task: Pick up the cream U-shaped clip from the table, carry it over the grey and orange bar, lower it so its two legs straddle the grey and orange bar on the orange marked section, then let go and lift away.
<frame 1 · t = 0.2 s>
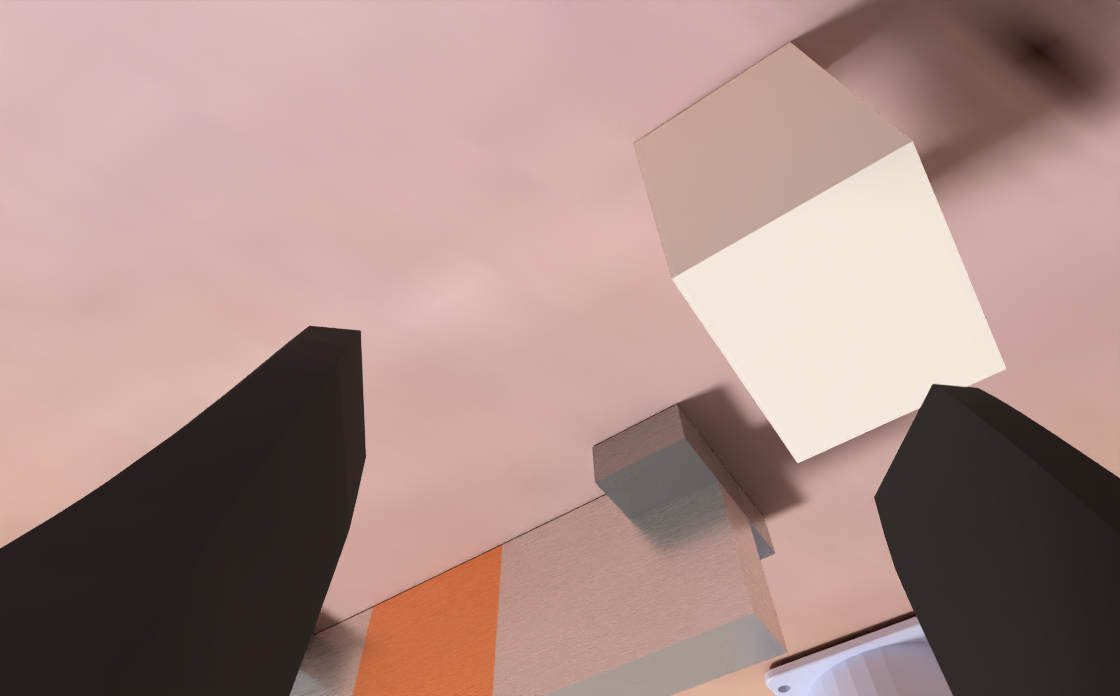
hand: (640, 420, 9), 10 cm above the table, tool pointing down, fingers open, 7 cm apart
clip: (756, 181, 18), on the table
grey and orange bar: (474, 581, 26), on the table
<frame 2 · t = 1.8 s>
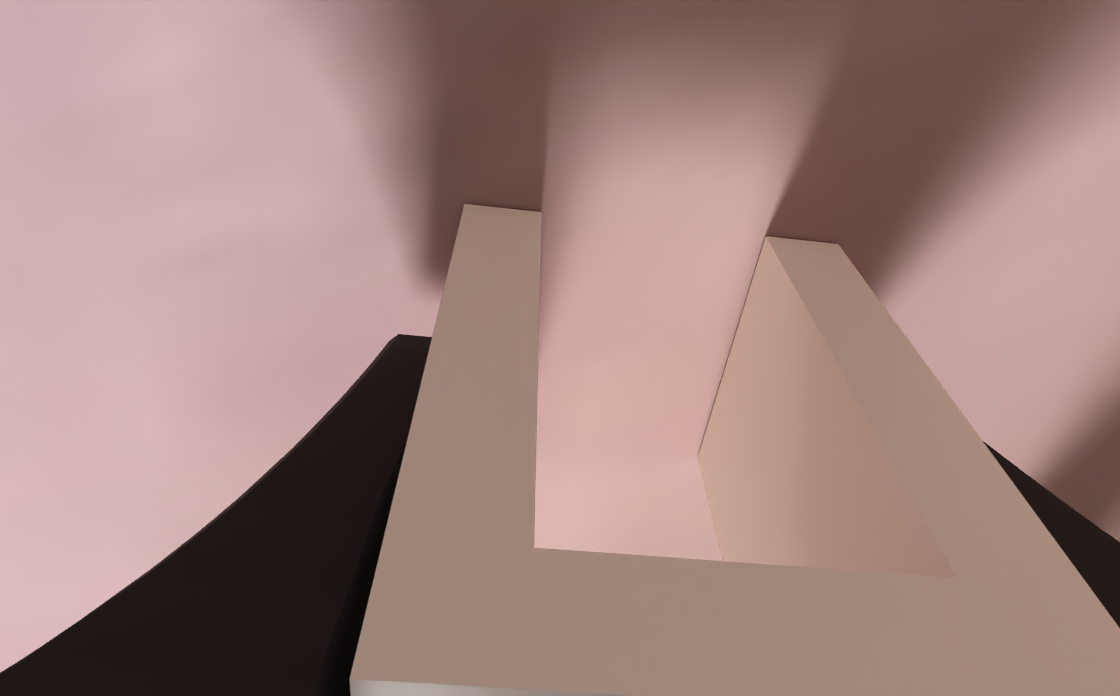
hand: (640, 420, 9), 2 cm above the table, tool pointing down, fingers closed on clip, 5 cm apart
clip: (628, 348, 11), on the table, touching gripper
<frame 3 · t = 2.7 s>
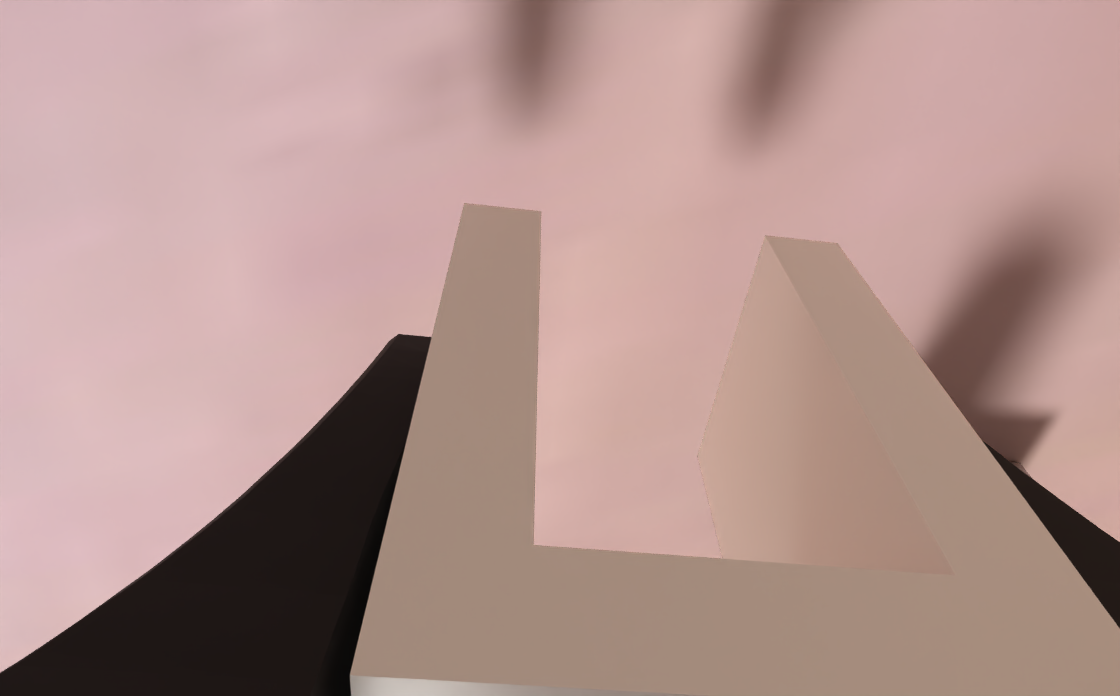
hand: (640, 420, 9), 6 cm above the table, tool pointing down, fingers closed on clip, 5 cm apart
clip: (628, 348, 11), point 4 cm above the table, touching gripper
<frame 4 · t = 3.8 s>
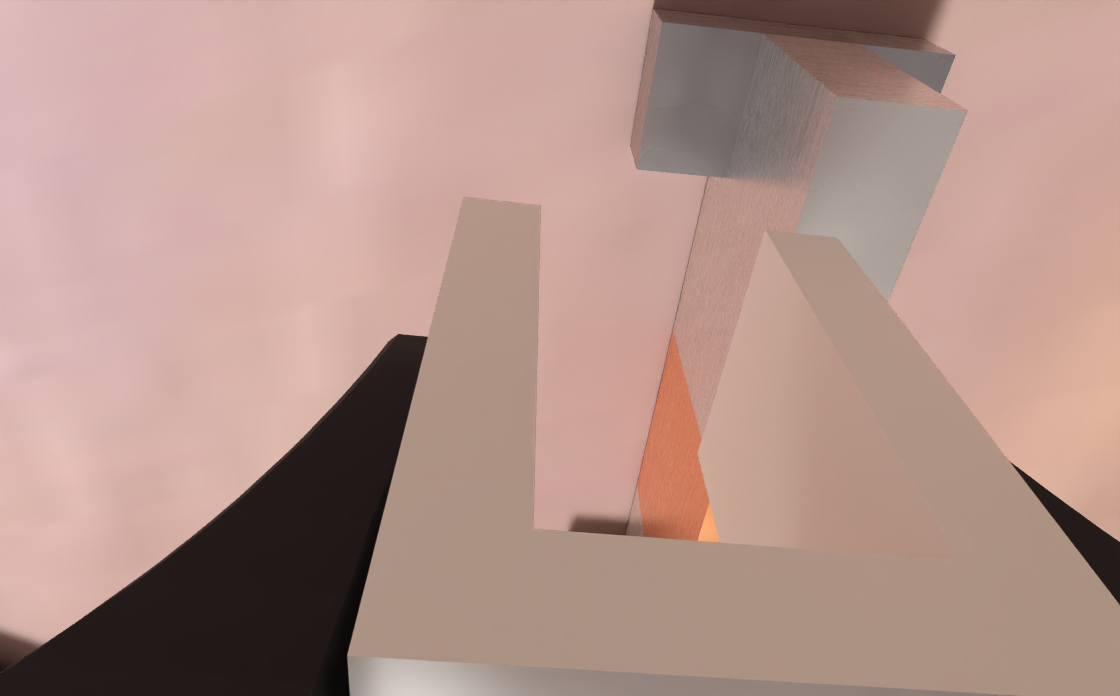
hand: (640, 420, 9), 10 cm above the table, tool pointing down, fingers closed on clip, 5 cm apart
clip: (628, 343, 11), point 8 cm above the table, touching gripper
grey and orange bar: (693, 390, 21), on the table
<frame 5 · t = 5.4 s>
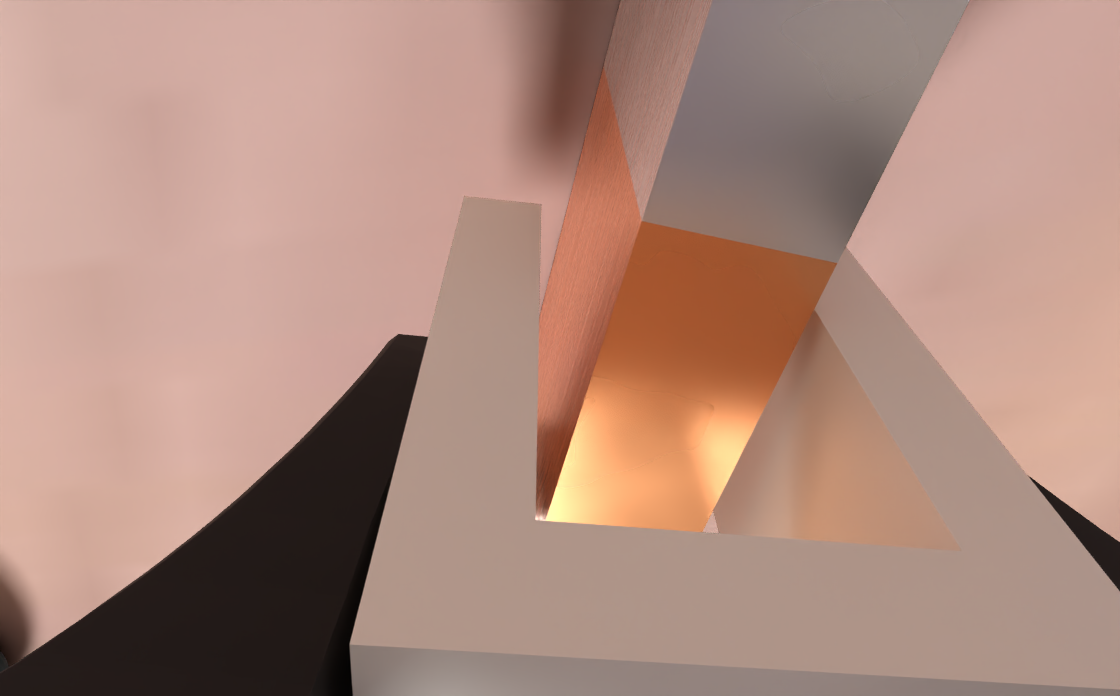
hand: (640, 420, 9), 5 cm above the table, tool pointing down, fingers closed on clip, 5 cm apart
clip: (628, 343, 11), point 3 cm above the table, touching gripper
grey and orange bar: (628, 192, 13), on the table
when the fingers open (3 cm above the table, at t = 6.2 s): clip drops 1 cm, resting on grey and orange bar.
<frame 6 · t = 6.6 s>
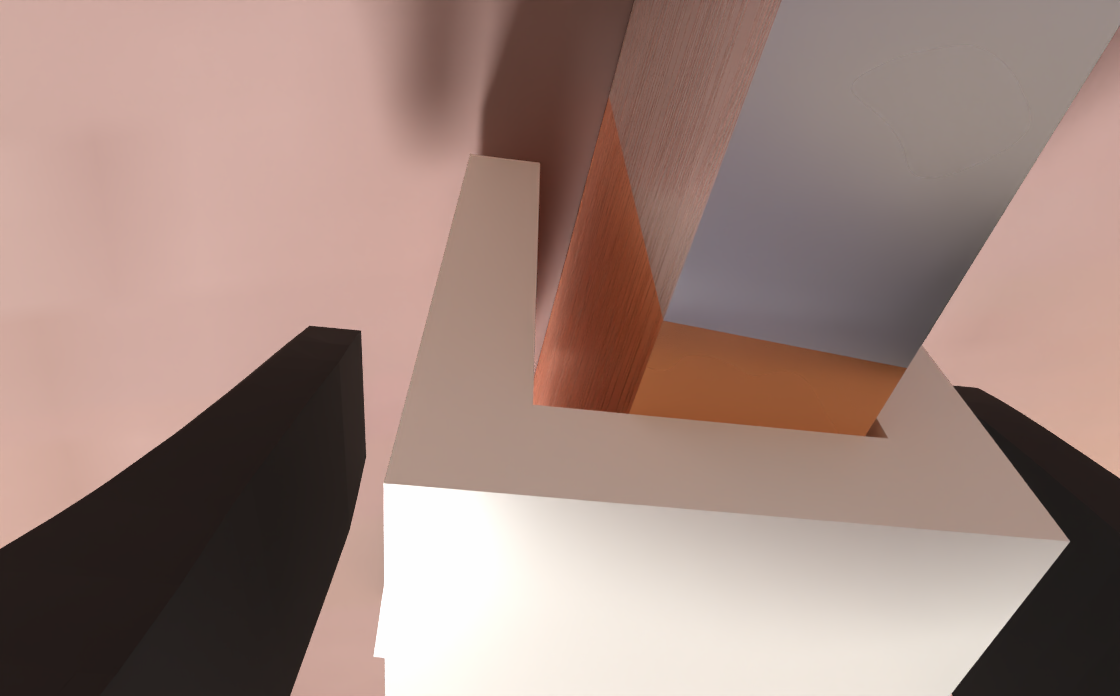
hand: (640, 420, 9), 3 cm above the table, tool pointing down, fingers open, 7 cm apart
clip: (618, 294, 12), resting on grey and orange bar
grey and orange bar: (636, 235, 12), on the table
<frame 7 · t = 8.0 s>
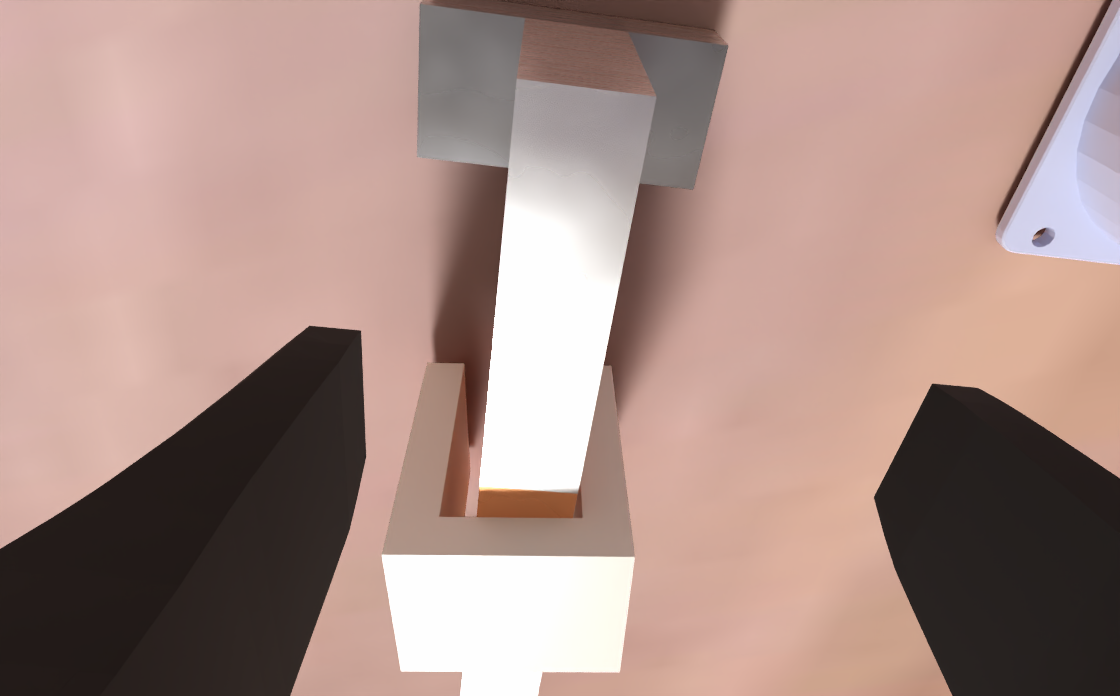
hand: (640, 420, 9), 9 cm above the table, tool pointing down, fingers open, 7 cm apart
clip: (519, 420, 21), resting on grey and orange bar
grey and orange bar: (526, 387, 21), on the table
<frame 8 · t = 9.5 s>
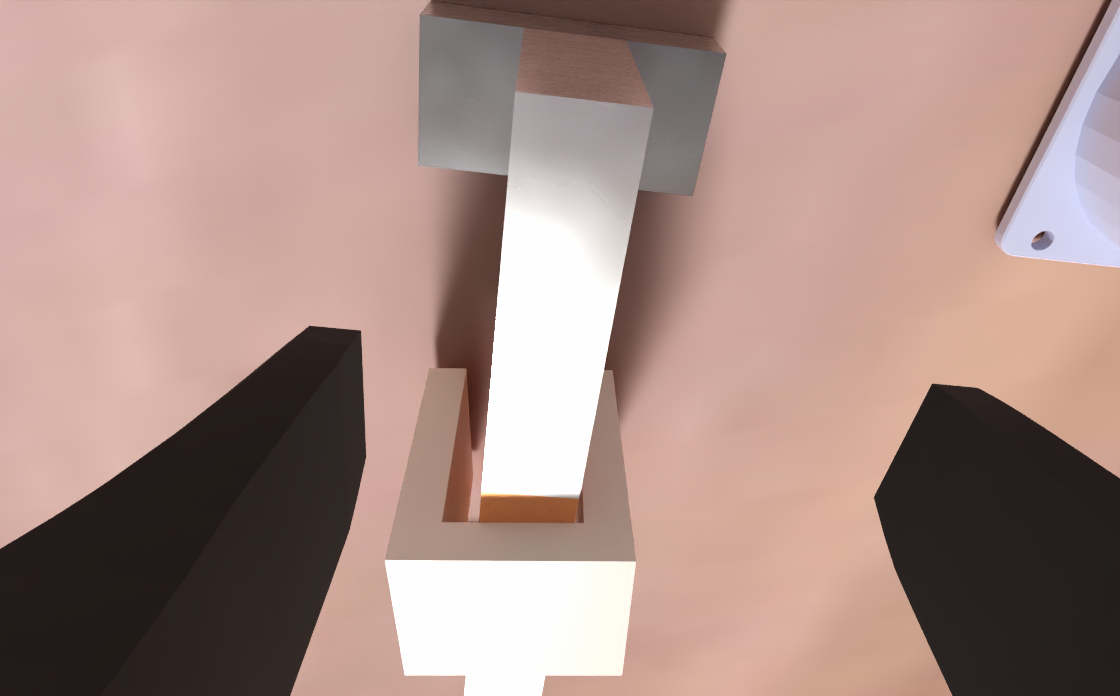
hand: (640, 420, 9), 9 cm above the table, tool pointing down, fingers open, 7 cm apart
clip: (521, 425, 21), resting on grey and orange bar
grey and orange bar: (528, 391, 21), on the table
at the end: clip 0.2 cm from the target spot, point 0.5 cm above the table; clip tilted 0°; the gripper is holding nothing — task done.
